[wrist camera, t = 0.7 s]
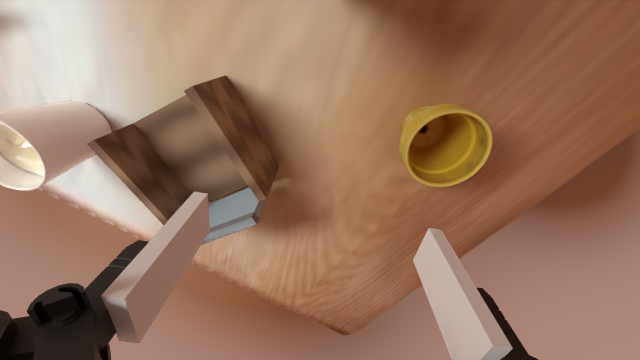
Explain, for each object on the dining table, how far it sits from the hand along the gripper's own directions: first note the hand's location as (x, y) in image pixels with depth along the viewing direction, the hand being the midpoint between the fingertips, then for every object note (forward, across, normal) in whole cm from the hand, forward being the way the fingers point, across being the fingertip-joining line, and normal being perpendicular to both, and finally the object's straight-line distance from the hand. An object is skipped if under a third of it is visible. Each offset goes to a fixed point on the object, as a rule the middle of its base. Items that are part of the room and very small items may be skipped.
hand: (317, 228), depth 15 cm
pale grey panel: (+24, -13, -15) cm, 31 cm away
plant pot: (+27, +15, +1) cm, 31 cm away
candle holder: (+27, -38, -8) cm, 47 cm away
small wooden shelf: (+27, -17, -8) cm, 33 cm away
